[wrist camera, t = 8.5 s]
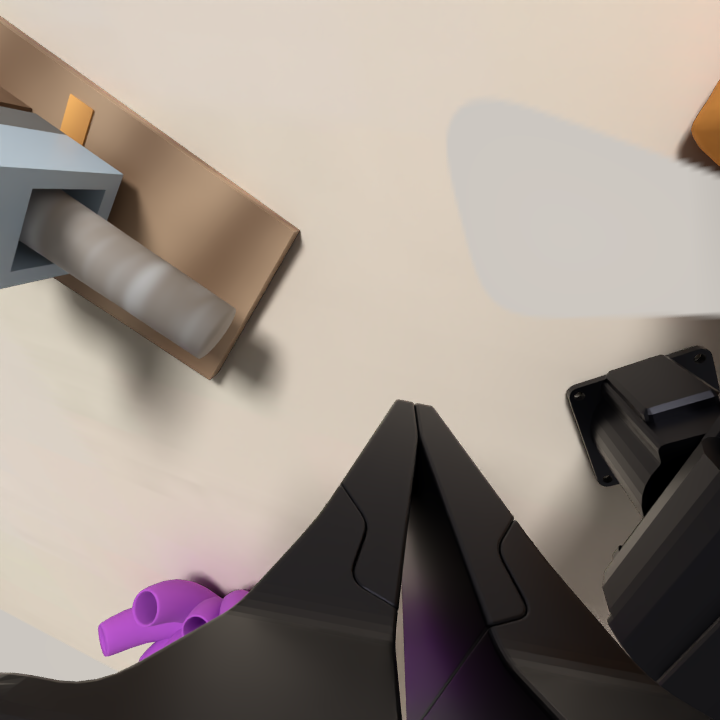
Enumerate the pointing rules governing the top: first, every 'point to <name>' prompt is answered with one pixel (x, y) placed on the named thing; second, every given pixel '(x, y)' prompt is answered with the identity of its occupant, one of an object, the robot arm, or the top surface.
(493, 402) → the top surface
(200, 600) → the purple coral
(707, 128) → the coffee package
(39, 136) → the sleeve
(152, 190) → the pipe stand
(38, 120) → the dark grey block
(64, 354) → the top surface
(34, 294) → the top surface
